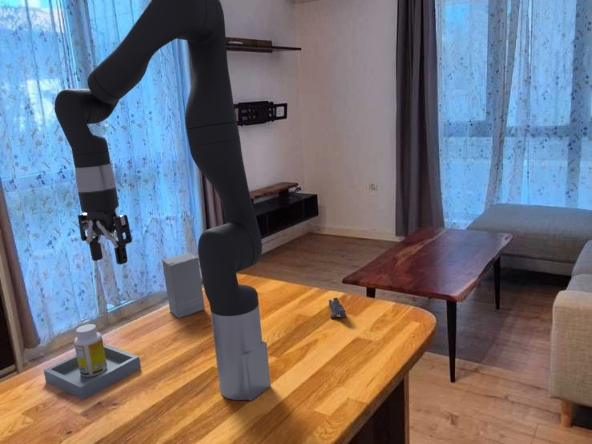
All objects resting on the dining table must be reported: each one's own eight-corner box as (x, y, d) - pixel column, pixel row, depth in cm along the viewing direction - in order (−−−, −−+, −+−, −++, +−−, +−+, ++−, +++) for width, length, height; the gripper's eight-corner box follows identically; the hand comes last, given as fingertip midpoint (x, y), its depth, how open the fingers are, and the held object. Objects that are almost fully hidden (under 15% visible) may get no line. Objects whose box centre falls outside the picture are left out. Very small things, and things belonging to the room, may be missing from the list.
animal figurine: (323, 313, 137) (321, 294, 137) (339, 311, 138) (337, 292, 138) (335, 323, 125) (333, 303, 125) (352, 320, 126) (350, 300, 126)
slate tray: (141, 368, 112) (139, 356, 112) (83, 400, 101) (80, 387, 101) (103, 353, 120) (101, 342, 120) (45, 382, 109) (43, 370, 109)
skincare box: (196, 303, 147) (189, 251, 143) (206, 311, 141) (199, 256, 138) (168, 312, 142) (160, 257, 139) (177, 320, 137) (169, 263, 133)
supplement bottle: (110, 363, 114) (102, 321, 111) (103, 376, 108) (95, 332, 106) (84, 366, 113) (76, 323, 111) (76, 379, 108) (68, 335, 105)
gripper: (133, 184, 106) (145, 259, 109) (91, 184, 114) (104, 254, 117) (102, 191, 100) (116, 270, 103) (60, 190, 108) (74, 263, 111)
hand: (109, 261), depth 110 cm, fingers open, 8 cm apart
